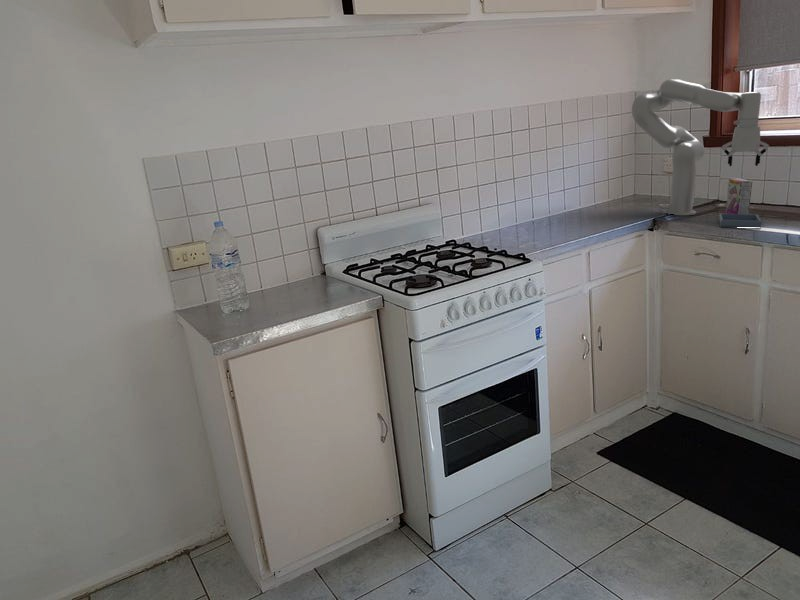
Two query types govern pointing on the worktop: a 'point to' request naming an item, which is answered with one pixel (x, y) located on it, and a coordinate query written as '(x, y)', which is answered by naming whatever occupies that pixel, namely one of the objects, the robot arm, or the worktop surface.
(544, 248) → the worktop surface
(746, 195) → the candy bar box
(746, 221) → the tray
